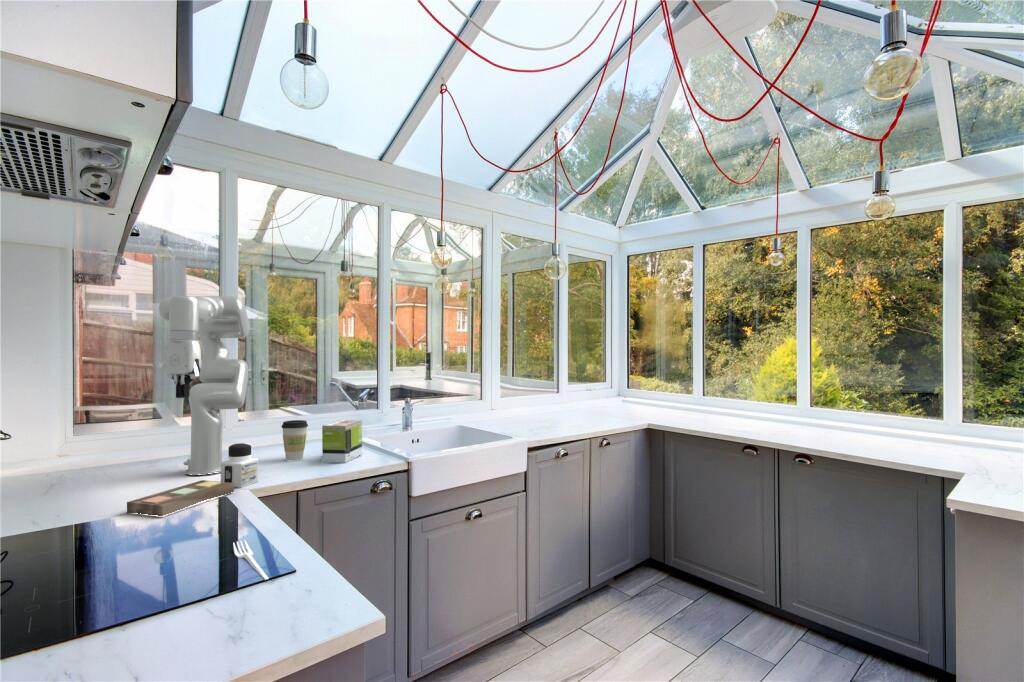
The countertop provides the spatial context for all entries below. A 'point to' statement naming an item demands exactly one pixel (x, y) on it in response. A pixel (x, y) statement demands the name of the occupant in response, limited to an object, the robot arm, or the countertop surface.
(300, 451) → the coffee cup
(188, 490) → the sage key
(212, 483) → the ochre key
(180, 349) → the robot arm
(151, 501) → the terracotta key
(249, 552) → the fork
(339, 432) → the tea box
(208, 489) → the key panel
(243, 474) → the container
